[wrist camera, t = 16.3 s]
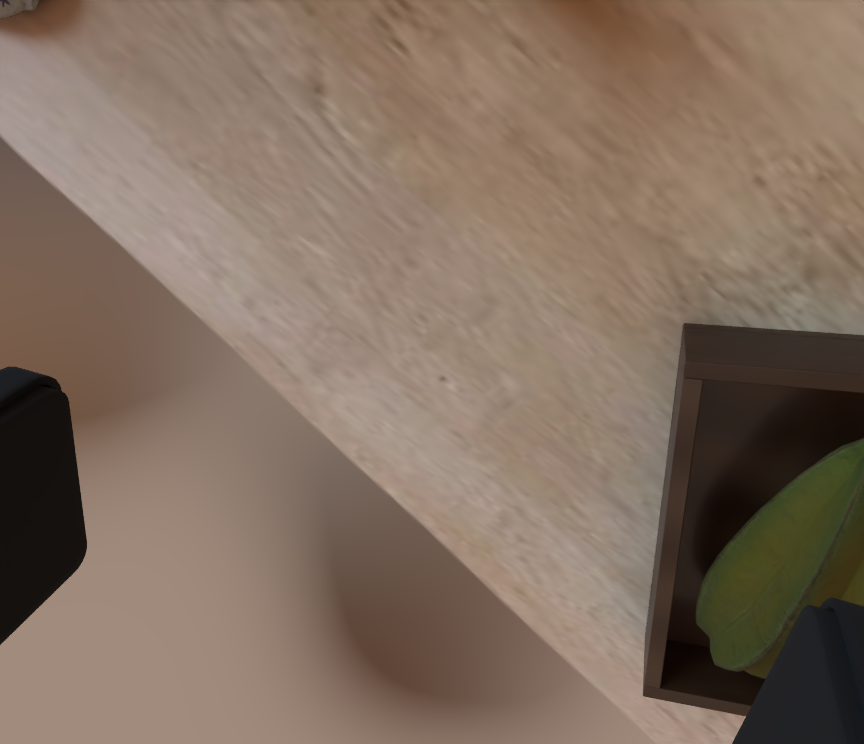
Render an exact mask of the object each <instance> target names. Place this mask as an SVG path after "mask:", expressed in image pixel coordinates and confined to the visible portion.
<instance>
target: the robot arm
mask: <svg viewBox="0 0 864 744" xmlns="http://www.w3.org/2000/svg"><path fill="white" fill-rule="evenodd" d="M69 407H70V406H69V401H68V398H67V396H66V394H65V393H63V392H62V391H61V387H60V385H59V383H58V382H57V380H56V379H54V378H52V377H49V376H46V375H43V374H39V373H35V372H32V371H29V370H25V369H21V368H18V367H6V368H4V369H1V370H0V645H1V643H2V642H4V641H5V640H6V639H7V638H8V637H9V636H10V635H11V634H12V633H13V632H14V631H15V630H16V629H17V628H18V627H19V626H20V625H21V624H22V623H23V622H24V621H25V620H26V619H27V618H28V617H29V616H30V615H31V614H32V613H33V612H34V611H35V610H36V609H37V608H38V607H39V606H40V605H42V604H43V602H44V601H45V600H47V599H48V598H49V597H50V596H51V595H52V594H53V593H54V592H55V591H56V590H57V589H58V588H59V587H60V586H61V585H62V584H63V583H64V582H65V581H66V580H67V579H68V578H69V577H70V576H71V575H72V574H73V573H74V572H75V571H76V570H77V569H78V568H79V566H80V565H81V563H82V561H83V559H84V557H85V554H86V549H87V539H86V532H85V524H84V516H83V508H82V501H81V492H80V485H79V477H78V469H77V462H76V454H75V445H74V438H73V430H72V422H71V414H70V408H69ZM732 744H864V606H861V605H858V604H854V603H851V602H847V601H844V600H840V599H837V598H828V599H827V600H825V601H824V602H823V603H822V605H821V606H820V608H819V607H816V606H812V605H807V606H805V607H804V608H803V610H802V611H801V613H800V614H799V616H798V618H797V620H796V622H795V624H794V626H793V628H792V630H791V632H790V634H789V636H788V637H787V639H786V641H785V643H784V645H783V647H782V649H781V651H780V653H779V655H778V657H777V659H776V660H775V662H774V664H773V666H772V668H771V670H770V672H769V674H768V676H767V678H766V680H765V682H764V683H763V685H762V687H761V689H760V691H759V693H758V695H757V697H756V699H755V701H754V703H753V705H752V707H751V708H750V710H749V712H748V714H747V716H746V718H745V720H744V722H743V724H742V726H741V728H740V730H739V731H738V733H737V735H736V737H735V739H734V741H733V743H732Z"/></svg>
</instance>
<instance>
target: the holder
mask: <svg viewBox="0 0 864 744" xmlns="http://www.w3.org/2000/svg"><path fill="white" fill-rule="evenodd" d="M862 438H864V335H849V334H834V333H820V332H805V331H790V330H775V329H761V328H746V327H731V326H716V325H702V324H687V323H685V324H683V331H682V339H681V347H680V355H679V364H678V372H677V380H676V388H675V396H674V405H673V413H672V421H671V429H670V437H669V446H668V454H667V462H666V470H665V478H664V486H663V495H662V503H661V511H660V519H659V527H658V536H657V544H656V552H655V560H654V568H653V577H652V585H651V593H650V601H649V609H648V618H647V626H646V634H645V651H644V680H643V696H645V697H650V698H655V699H660V700H665V701H671V702H676V703H681V704H686V705H691V706H696V707H701V708H706V709H712V710H717V711H722V712H727V713H732V714H737V715H742V716H747V714H748V712H749V710H750V708H751V707H752V705H753V703H754V701H755V699H756V697H757V695H758V693H759V691H760V689H761V687H762V685H763V683H764V682H765V680H766V679H764V678H760V677H757V676H754V675H751V674H749V673H747V672H746V671H744V670H743V671H739V672H736V671H731V670H726V669H723V668H721V667H718V666H716V665H715V664H714V662H713V659H712V655H711V652H710V638H709V636H708V635H707V634H706V633H705V632H704V631H703V630H702V629H701V628H700V627H699V626H698V625H697V624H696V606H697V599H698V595H699V592H700V588H701V585H702V582H703V580H704V578H705V576H706V574H707V572H708V570H709V568H710V567H711V566H712V564H713V563H714V561H715V559H716V558H717V556H718V555H719V554H720V552H721V551H722V550H723V549H724V547H725V546H726V545H727V544H728V543H729V542H730V540H731V539H732V538H733V537H734V536H735V535H736V534H737V533H738V532H739V531H740V530H741V528H742V527H743V526H744V525H745V524H746V523H747V522H748V521H749V520H750V519H751V518H752V517H753V516H754V515H755V514H756V513H757V512H758V510H759V509H761V508H762V507H763V506H764V505H765V504H766V503H767V502H769V501H770V500H771V499H772V498H773V497H774V496H775V495H776V494H777V493H779V492H780V491H781V490H782V489H783V488H784V487H785V486H786V485H787V484H788V483H790V482H791V481H793V480H794V479H795V478H796V477H797V476H799V475H800V474H801V473H802V472H804V471H805V470H807V469H809V468H810V467H812V466H813V465H815V464H816V463H817V462H818V461H819V460H821V459H822V458H823V457H825V456H826V455H828V454H829V453H831V452H833V451H834V450H836V449H838V448H839V447H841V446H843V445H846V444H849V443H852V442H855V441H857V440H860V439H862Z"/></svg>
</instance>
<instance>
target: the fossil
mask: <svg viewBox="0 0 864 744" xmlns="http://www.w3.org/2000/svg"><path fill="white" fill-rule="evenodd" d="M38 1H39V0H0V18H7V17H10V16H13V15H15V14H18V13H20V12H24V11H33V10H35V9H36V7H37V5H38Z"/></svg>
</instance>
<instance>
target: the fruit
mask: <svg viewBox="0 0 864 744" xmlns="http://www.w3.org/2000/svg"><path fill="white" fill-rule="evenodd" d="M828 598H837V599H840V600H844V601H847V602H851V603H854V604H858V605H861V606H864V438H862V439H860V440H857V441H855V442H852V443H849V444H846V445H843V446H841V447H839V448H838V449H836V450H834V451H833V452H831V453H829V454H828V455H826V456H825V457H823V458H822V459H821V460H819V461H818V462H817V463H816V464H815V465H813V466H812V467H810V468H809V469H807V470H805V471H804V472H802V473H801V474H800V475H799V476H797V477H796V478H795V479H794V480H793V481H791V482H790V483H788V484H787V485H786V486H785V487H784V488H783V489H782V490H781V491H780V492H779V493H777V494H776V495H775V496H774V497H773V498H772V499H771V500H770V501H769V502H767V503H766V504H765V505H764V506H763V507H762V508H761V509H759V510H758V512H757V513H756V514H755V515H754V516H753V517H752V518H751V519H750V520H749V521H748V522H747V523H746V524H745V525H744V526H743V527H742V528H741V530H740V531H739V532H738V533H737V534H736V535H735V536H734V537H733V538H732V539H731V540H730V542H729V543H728V544H727V545H726V546H725V547H724V549H723V550H722V551H721V552H720V554H719V555H718V556H717V558H716V559H715V561H714V563H713V564H712V566H711V567H710V568H709V570H708V572H707V574H706V576H705V578H704V580H703V582H702V585H701V588H700V592H699V595H698V599H697V606H696V624H697V625H698V626H699V627H700V628H701V629H702V630H703V631H704V632H705V633H706V634H707V635H708V636H709V638H710V652H711V655H712V659H713V662H714V664H715V665H716V666H718V667H721V668H723V669H726V670H731V671H736V672H739V671H743V670H744V671H746V672H747V673H749V674H751V675H754V676H757V677H760V678H764V679H766V678H767V676H768V674H769V672H770V670H771V668H772V666H773V664H774V662H775V660H776V659H777V657H778V655H779V653H780V651H781V649H782V647H783V645H784V643H785V641H786V639H787V637H788V636H789V634H790V632H791V630H792V628H793V626H794V624H795V622H796V620H797V618H798V616H799V614H800V613H801V611H802V610H803V608H804V607H805V606H807V605H812V606H816V607H819V608H820V606H821V605H822V603H823V602H824V601H825V600H827V599H828Z"/></svg>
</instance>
